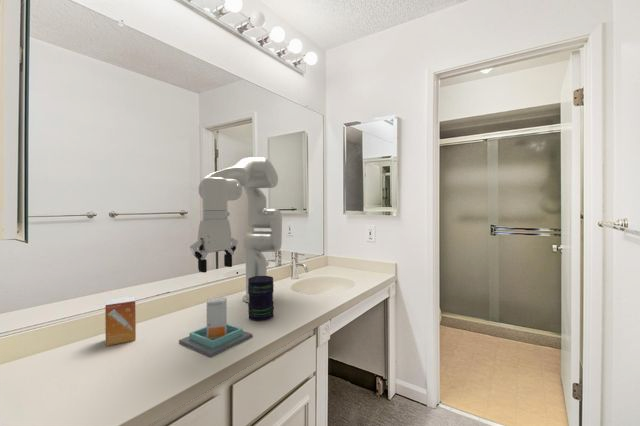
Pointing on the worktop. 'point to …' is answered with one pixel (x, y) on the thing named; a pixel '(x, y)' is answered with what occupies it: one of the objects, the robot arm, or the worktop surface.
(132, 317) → the small box
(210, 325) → the skincare box
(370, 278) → the worktop surface
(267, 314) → the storage jar
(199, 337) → the tray
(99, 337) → the worktop surface
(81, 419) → the worktop surface
